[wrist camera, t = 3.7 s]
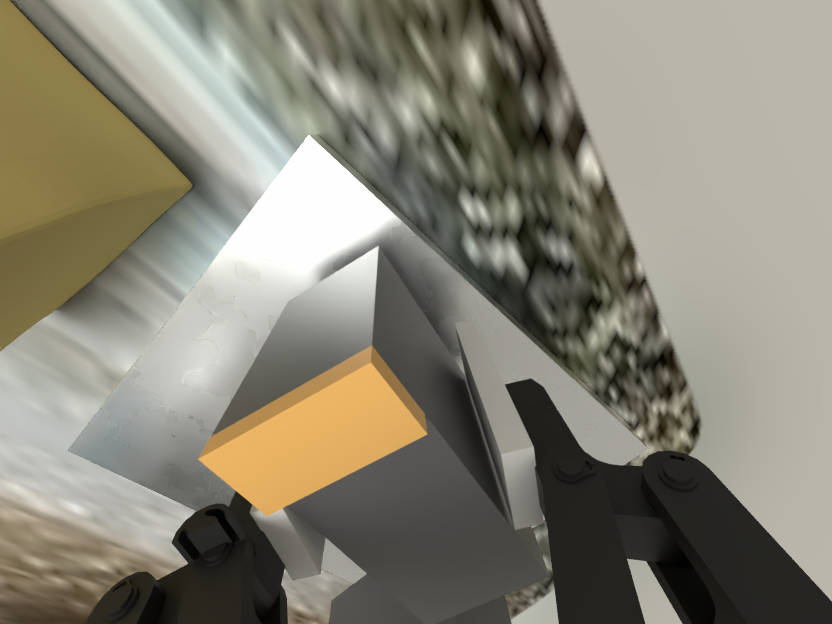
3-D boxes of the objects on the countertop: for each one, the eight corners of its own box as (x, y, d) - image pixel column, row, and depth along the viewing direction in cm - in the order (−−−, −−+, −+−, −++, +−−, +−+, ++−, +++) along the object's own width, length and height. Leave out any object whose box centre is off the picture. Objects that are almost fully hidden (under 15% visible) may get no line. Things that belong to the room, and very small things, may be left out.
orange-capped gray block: (477, 380, 20) (558, 599, 10) (410, 415, 20) (429, 651, 11) (379, 229, 16) (371, 362, 7) (301, 278, 17) (197, 459, 7)
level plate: (410, 581, 30) (412, 621, 27) (94, 423, 21) (57, 460, 19) (628, 424, 24) (655, 456, 22) (317, 134, 16) (305, 135, 14)
